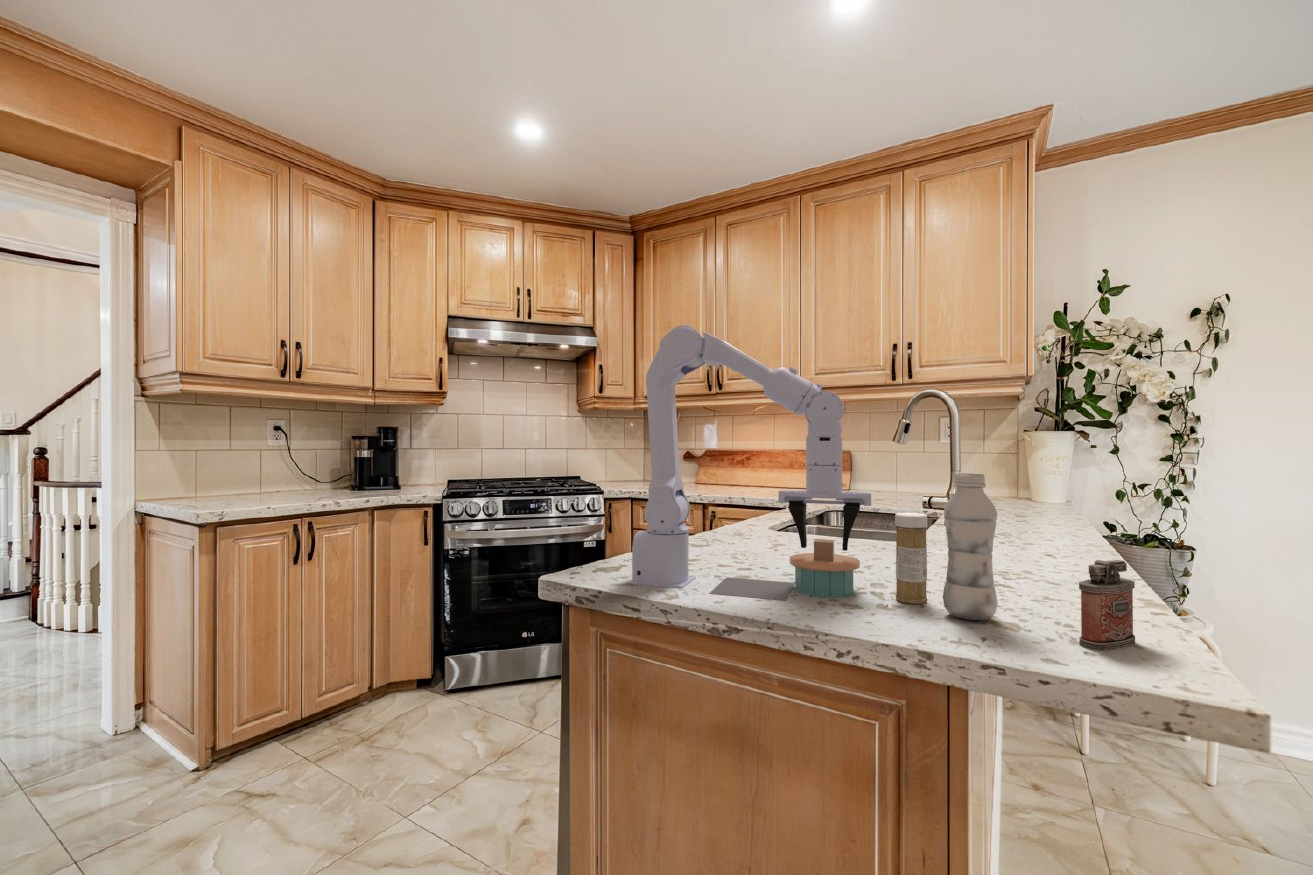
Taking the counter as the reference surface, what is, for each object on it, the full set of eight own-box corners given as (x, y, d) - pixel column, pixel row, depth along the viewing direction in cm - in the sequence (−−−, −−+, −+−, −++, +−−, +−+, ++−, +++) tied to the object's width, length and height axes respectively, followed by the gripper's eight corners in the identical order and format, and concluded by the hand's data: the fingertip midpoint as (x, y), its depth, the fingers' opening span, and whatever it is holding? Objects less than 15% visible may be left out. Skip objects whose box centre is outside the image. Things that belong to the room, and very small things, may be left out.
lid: (785, 568, 92) (785, 544, 92) (793, 555, 102) (793, 534, 102) (859, 573, 88) (859, 548, 88) (860, 560, 98) (860, 537, 98)
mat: (709, 595, 92) (709, 593, 92) (726, 579, 104) (726, 577, 104) (785, 602, 88) (785, 600, 88) (795, 585, 99) (795, 582, 99)
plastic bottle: (952, 608, 85) (951, 472, 86) (1004, 618, 80) (1003, 474, 81) (935, 617, 81) (934, 473, 81) (989, 629, 76) (988, 475, 76)
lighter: (1102, 653, 67) (1101, 566, 67) (1071, 643, 70) (1071, 561, 70) (1143, 643, 70) (1142, 560, 71) (1111, 635, 74) (1111, 556, 74)
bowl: (792, 596, 92) (792, 567, 92) (799, 583, 101) (799, 557, 101) (852, 601, 89) (852, 572, 89) (854, 587, 98) (853, 561, 98)
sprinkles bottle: (904, 595, 93) (904, 511, 93) (933, 601, 89) (932, 513, 89) (889, 600, 90) (889, 513, 90) (918, 606, 86) (918, 516, 86)
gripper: (775, 465, 94) (775, 549, 94) (871, 466, 89) (871, 555, 89) (781, 464, 101) (781, 542, 100) (871, 465, 96) (871, 547, 95)
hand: (824, 548), depth 95 cm, fingers open, 6 cm apart
